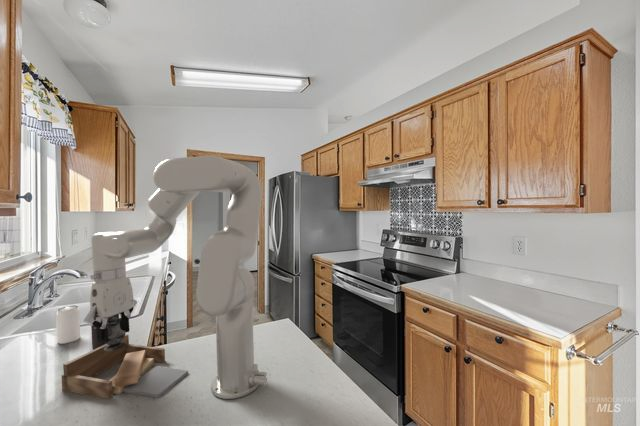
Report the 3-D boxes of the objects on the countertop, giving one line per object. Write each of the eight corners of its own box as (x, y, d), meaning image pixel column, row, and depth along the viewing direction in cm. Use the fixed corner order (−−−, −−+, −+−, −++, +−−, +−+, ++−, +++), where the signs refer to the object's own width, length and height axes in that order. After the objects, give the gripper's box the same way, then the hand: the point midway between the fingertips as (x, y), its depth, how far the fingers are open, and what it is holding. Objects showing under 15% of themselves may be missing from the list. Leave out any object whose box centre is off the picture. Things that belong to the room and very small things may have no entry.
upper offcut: (145, 357, 90) (145, 349, 90) (137, 383, 77) (137, 373, 77) (126, 361, 88) (126, 353, 88) (115, 387, 75) (114, 378, 75)
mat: (188, 373, 84) (188, 370, 84) (158, 397, 74) (158, 394, 74) (156, 368, 87) (156, 366, 87) (123, 391, 77) (123, 388, 77)
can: (77, 334, 112) (76, 303, 112) (83, 339, 108) (81, 307, 108) (55, 341, 107) (53, 308, 106) (60, 346, 103) (58, 312, 103)
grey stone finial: (114, 352, 81) (111, 309, 81) (96, 351, 82) (94, 308, 82) (131, 342, 87) (129, 302, 87) (115, 341, 88) (112, 301, 88)
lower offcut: (154, 366, 90) (153, 358, 90) (120, 395, 76) (120, 386, 76) (138, 366, 90) (138, 358, 90) (102, 395, 76) (101, 386, 76)
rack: (165, 361, 91) (164, 339, 91) (108, 398, 74) (107, 371, 74) (124, 355, 96) (123, 334, 95) (62, 389, 78) (61, 364, 78)
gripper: (89, 282, 75) (94, 352, 75) (145, 268, 92) (149, 325, 92) (68, 282, 77) (72, 349, 77) (126, 268, 94) (130, 323, 94)
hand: (114, 335), depth 85 cm, fingers closed on grey stone finial, 5 cm apart
